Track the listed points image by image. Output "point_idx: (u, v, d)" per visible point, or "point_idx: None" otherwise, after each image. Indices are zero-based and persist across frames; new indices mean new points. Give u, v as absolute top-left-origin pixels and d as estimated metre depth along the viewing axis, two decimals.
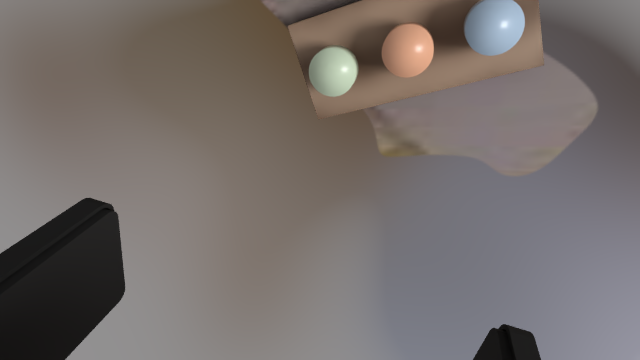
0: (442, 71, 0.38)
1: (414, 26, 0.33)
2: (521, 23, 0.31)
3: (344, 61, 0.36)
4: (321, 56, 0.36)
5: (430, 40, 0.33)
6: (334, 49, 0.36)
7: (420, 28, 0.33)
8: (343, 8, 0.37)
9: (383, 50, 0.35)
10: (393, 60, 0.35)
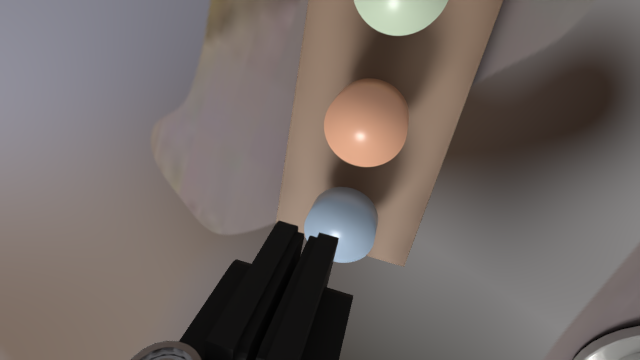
0: (314, 131, 0.26)
1: (394, 155, 0.21)
2: None
3: (407, 21, 0.18)
4: None
5: (363, 164, 0.22)
6: (438, 13, 0.18)
7: (386, 160, 0.21)
8: (486, 38, 0.21)
9: (386, 97, 0.20)
10: (363, 104, 0.20)
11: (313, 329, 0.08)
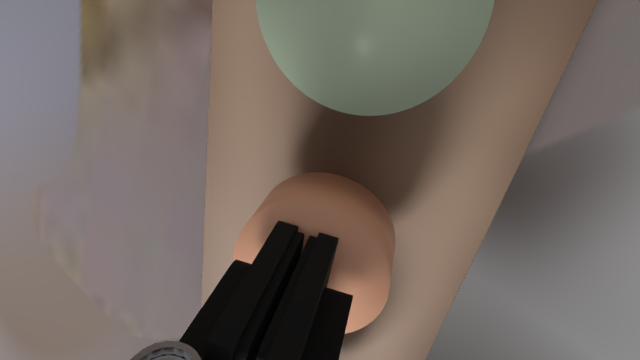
0: None
1: (365, 323, 0.11)
2: None
3: (384, 86, 0.08)
4: None
5: None
6: (456, 71, 0.07)
7: (352, 329, 0.11)
8: (542, 103, 0.11)
9: (346, 226, 0.10)
10: None
11: (313, 329, 0.08)
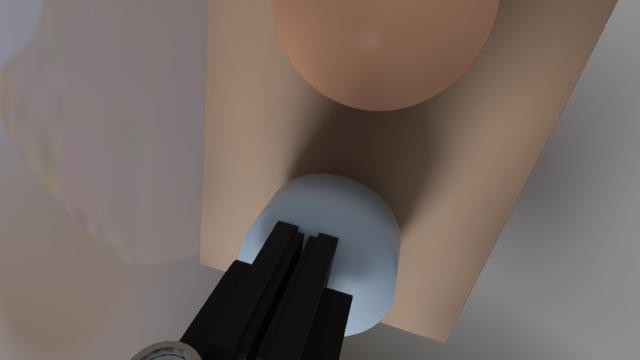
0: (259, 63, 0.12)
1: (456, 74, 0.08)
2: None
3: None
4: None
5: (372, 105, 0.09)
6: None
7: (434, 91, 0.08)
8: None
9: None
10: None
11: (313, 329, 0.08)
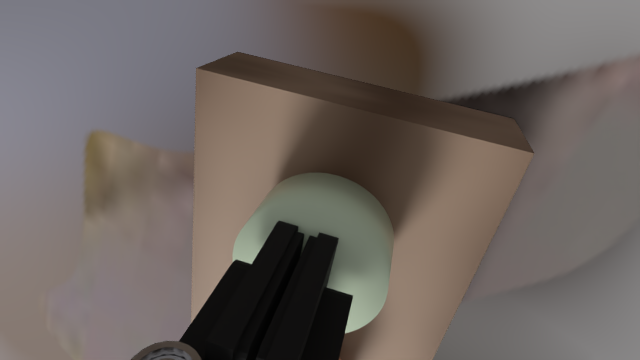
0: None
1: None
2: None
3: None
4: (371, 282, 0.10)
5: None
6: (368, 318, 0.11)
7: None
8: (455, 303, 0.14)
9: None
10: None
11: (313, 329, 0.08)
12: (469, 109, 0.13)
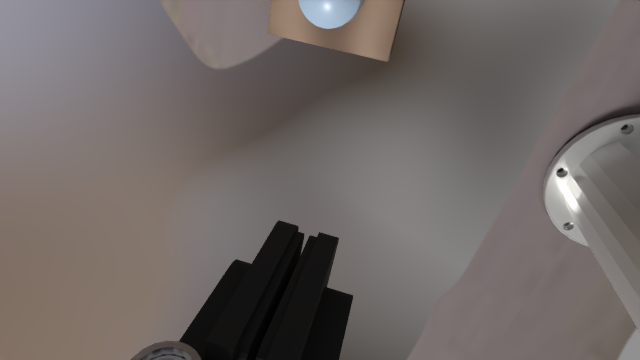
0: None
1: None
2: (319, 23, 0.28)
3: None
4: None
5: None
6: None
7: None
8: None
9: None
10: None
11: (313, 329, 0.08)
12: None
